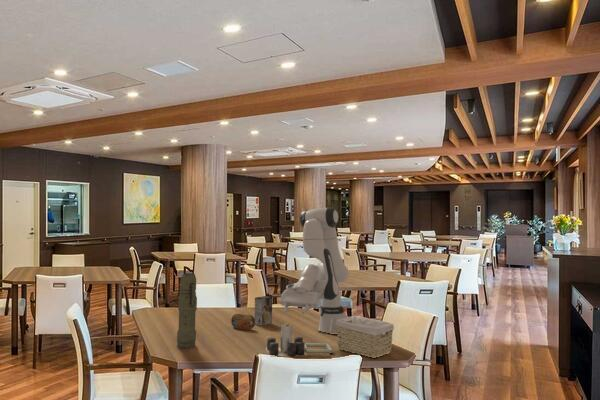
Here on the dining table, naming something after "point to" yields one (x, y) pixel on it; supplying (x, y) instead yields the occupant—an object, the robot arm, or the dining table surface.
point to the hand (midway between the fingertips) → (294, 312)
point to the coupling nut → (285, 337)
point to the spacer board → (292, 348)
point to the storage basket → (364, 335)
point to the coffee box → (263, 310)
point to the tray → (318, 345)
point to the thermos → (187, 311)
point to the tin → (243, 321)
